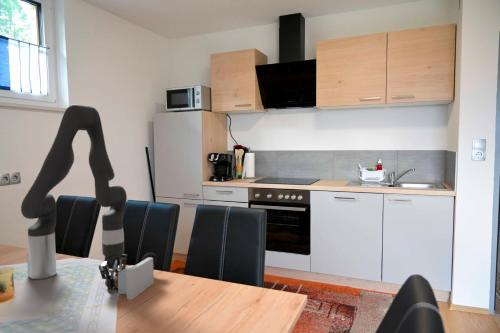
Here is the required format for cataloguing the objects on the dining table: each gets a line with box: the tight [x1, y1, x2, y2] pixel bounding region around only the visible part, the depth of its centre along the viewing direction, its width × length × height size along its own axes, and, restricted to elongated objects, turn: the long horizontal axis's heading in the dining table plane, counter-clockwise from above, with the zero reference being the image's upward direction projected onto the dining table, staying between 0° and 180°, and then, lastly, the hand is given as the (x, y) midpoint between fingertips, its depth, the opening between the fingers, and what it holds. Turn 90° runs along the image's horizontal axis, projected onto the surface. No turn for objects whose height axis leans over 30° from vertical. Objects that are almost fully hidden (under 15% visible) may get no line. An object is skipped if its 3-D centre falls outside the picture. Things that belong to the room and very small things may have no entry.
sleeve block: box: [117, 264, 136, 295], centre depth 122 cm, size 6×8×8 cm
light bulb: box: [141, 252, 158, 271], centre depth 134 cm, size 6×6×10 cm
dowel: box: [104, 275, 118, 289], centre depth 123 cm, size 11×4×4 cm, turn 76°
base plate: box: [126, 257, 155, 301], centre depth 121 cm, size 2×14×10 cm, turn 166°
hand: (114, 285), depth 124 cm, fingers closed on dowel, 3 cm apart
